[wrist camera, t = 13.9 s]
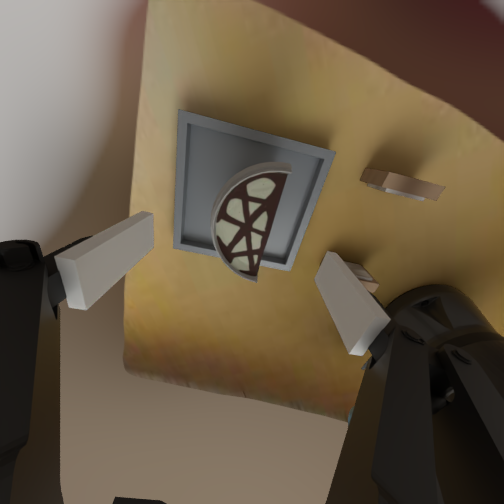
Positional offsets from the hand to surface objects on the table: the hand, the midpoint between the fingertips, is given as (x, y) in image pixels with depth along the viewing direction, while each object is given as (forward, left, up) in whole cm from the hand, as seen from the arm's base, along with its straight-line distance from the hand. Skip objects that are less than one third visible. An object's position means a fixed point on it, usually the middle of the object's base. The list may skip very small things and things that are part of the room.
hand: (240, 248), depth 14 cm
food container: (0, 0, -14) cm, 14 cm away
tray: (0, 0, -15) cm, 15 cm away
